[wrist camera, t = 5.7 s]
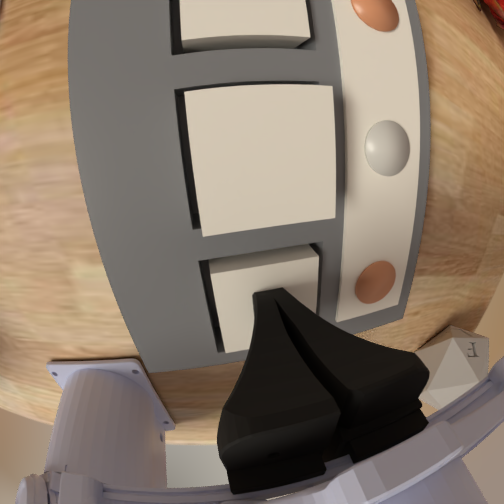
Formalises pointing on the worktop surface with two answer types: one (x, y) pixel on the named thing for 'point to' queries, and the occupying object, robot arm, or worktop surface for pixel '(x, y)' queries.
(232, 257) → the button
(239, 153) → the middle button
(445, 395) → the die
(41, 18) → the worktop surface
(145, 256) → the button board
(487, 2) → the dragon fruit
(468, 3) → the worktop surface
